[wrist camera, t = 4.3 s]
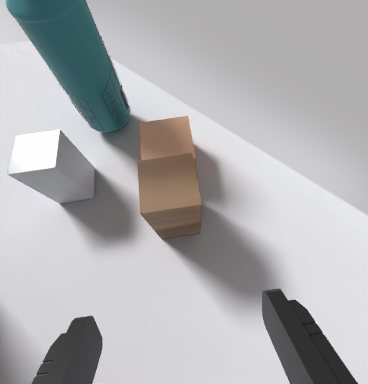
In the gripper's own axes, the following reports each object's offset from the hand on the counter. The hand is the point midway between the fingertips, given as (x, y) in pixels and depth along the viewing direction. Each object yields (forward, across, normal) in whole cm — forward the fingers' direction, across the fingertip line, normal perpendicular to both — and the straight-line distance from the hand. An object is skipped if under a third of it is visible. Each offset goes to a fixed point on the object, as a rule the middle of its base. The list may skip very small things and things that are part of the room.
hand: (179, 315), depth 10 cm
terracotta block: (+21, 0, -2) cm, 21 cm away
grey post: (+20, +13, -2) cm, 24 cm away
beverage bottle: (+27, +8, -8) cm, 29 cm away
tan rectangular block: (+15, 0, +3) cm, 16 cm away
